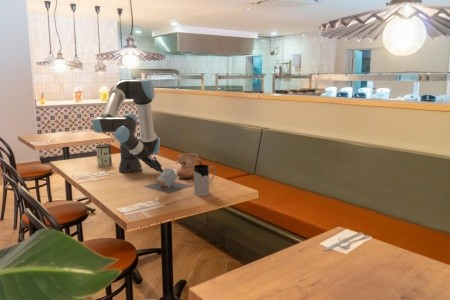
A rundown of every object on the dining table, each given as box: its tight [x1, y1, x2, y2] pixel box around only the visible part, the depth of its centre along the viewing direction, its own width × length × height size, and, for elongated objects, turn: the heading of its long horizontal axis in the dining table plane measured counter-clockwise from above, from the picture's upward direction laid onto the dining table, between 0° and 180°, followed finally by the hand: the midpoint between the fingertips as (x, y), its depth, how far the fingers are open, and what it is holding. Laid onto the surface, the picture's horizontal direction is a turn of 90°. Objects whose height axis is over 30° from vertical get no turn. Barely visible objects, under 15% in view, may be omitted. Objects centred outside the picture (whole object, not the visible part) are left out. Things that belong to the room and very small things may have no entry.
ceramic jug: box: [175, 153, 203, 180], centre depth 236 cm, size 18×14×14 cm
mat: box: [143, 181, 193, 194], centre depth 216 cm, size 22×18×1 cm
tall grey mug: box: [193, 164, 216, 197], centre depth 204 cm, size 9×14×15 cm, turn 135°
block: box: [156, 167, 178, 188], centre depth 215 cm, size 6×6×9 cm
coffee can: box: [95, 144, 113, 167], centre depth 274 cm, size 10×10×14 cm
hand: (164, 174), depth 212 cm, fingers closed
